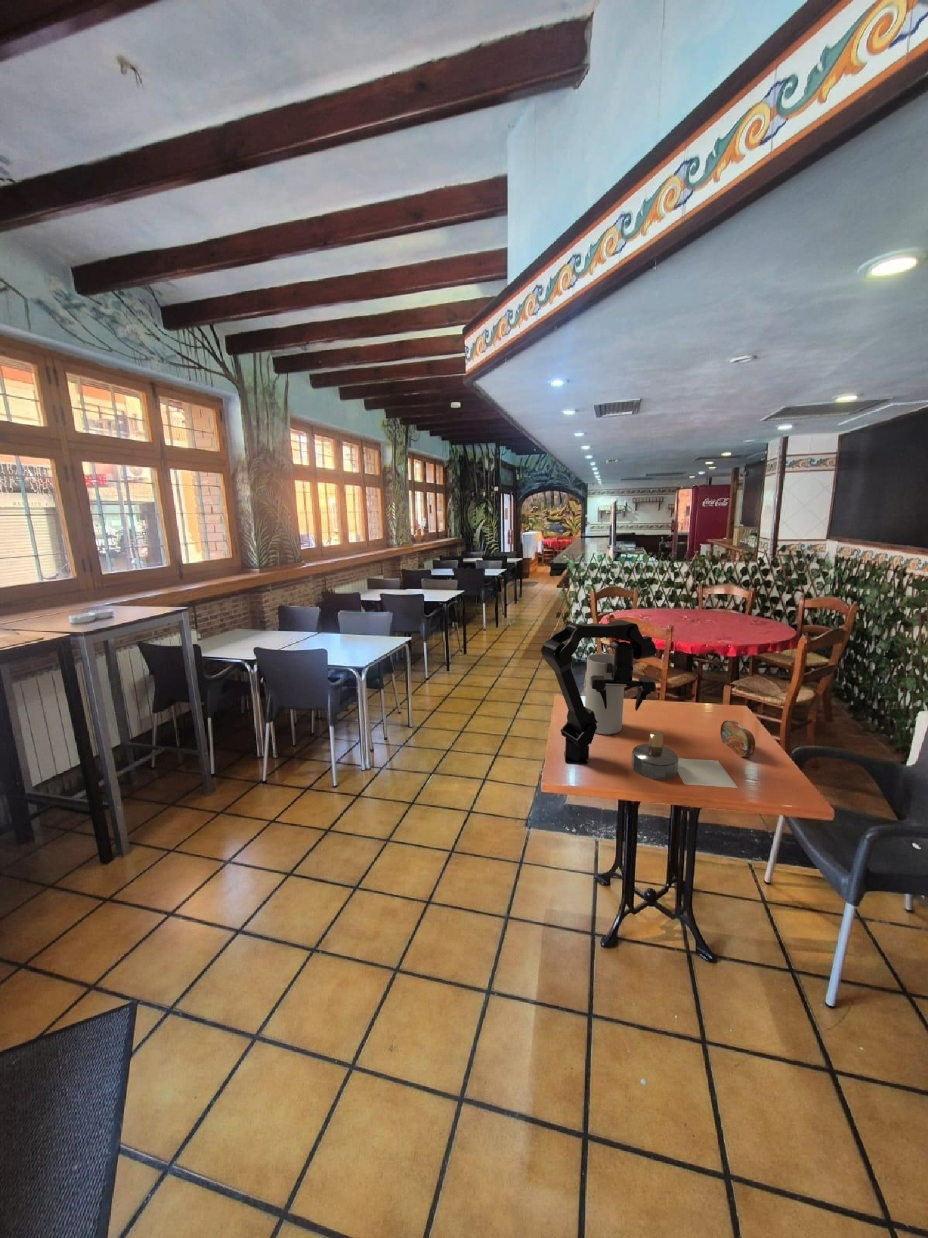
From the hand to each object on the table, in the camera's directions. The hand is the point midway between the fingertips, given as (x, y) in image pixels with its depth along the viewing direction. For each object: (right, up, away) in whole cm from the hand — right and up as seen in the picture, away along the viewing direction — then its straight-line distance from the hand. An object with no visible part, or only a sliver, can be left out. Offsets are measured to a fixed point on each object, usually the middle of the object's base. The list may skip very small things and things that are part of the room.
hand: (620, 709), depth 153 cm
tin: (+36, -13, 0) cm, 38 cm away
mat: (+19, -16, -13) cm, 28 cm away
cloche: (+6, -16, -11) cm, 20 cm away
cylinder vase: (-1, -10, +18) cm, 20 cm away
